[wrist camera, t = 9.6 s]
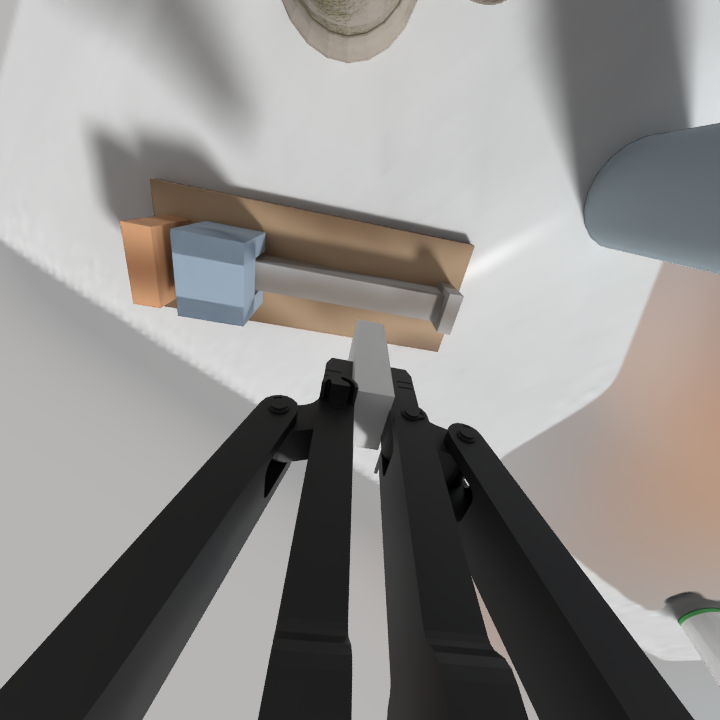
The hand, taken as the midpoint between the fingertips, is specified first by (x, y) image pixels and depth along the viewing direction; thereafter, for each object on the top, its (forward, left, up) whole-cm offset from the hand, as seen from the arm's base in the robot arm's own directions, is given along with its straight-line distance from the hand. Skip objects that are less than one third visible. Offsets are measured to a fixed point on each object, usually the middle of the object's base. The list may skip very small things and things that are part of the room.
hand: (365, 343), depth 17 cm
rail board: (+1, -4, -15) cm, 16 cm away
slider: (+1, -11, -14) cm, 18 cm away
